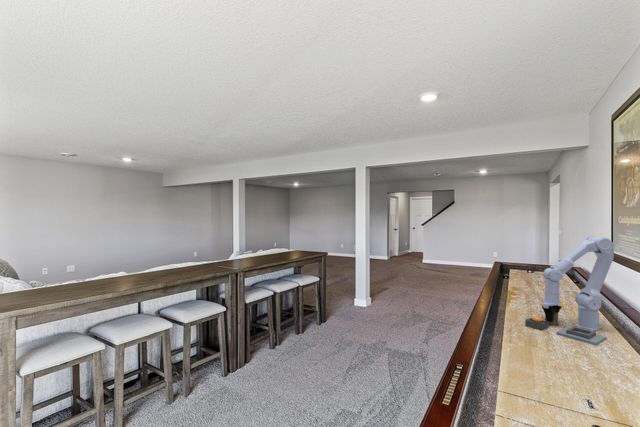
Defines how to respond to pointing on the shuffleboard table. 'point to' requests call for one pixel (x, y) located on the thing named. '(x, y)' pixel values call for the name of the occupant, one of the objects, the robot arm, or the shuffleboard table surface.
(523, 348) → the shuffleboard table surface
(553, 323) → the block
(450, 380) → the shuffleboard table surface
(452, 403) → the shuffleboard table surface
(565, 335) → the board
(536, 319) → the button
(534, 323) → the control box
